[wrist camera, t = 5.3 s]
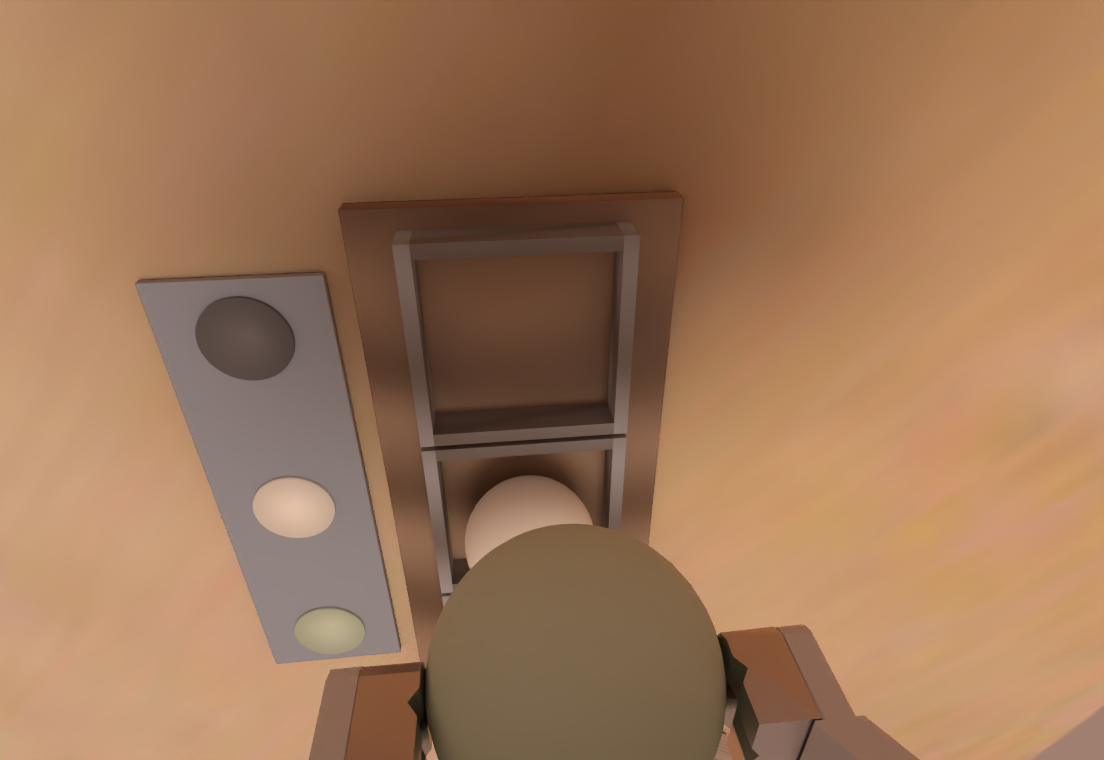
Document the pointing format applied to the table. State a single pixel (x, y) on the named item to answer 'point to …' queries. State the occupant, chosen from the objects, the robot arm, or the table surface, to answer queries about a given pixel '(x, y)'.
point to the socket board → (512, 359)
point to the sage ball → (574, 655)
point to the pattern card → (280, 454)
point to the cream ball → (520, 512)
